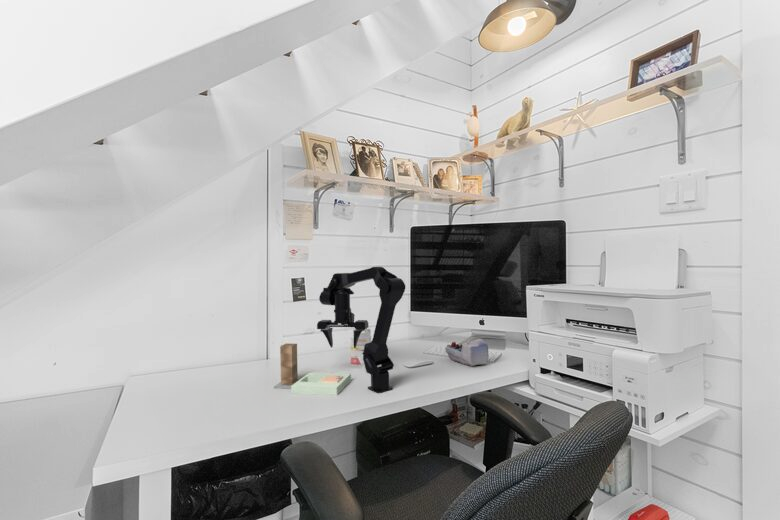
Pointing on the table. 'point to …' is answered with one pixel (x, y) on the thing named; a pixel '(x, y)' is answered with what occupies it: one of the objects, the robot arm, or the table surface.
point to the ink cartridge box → (359, 346)
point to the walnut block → (288, 364)
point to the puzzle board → (321, 383)
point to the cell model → (469, 352)
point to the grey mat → (282, 386)
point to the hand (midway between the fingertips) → (343, 347)
